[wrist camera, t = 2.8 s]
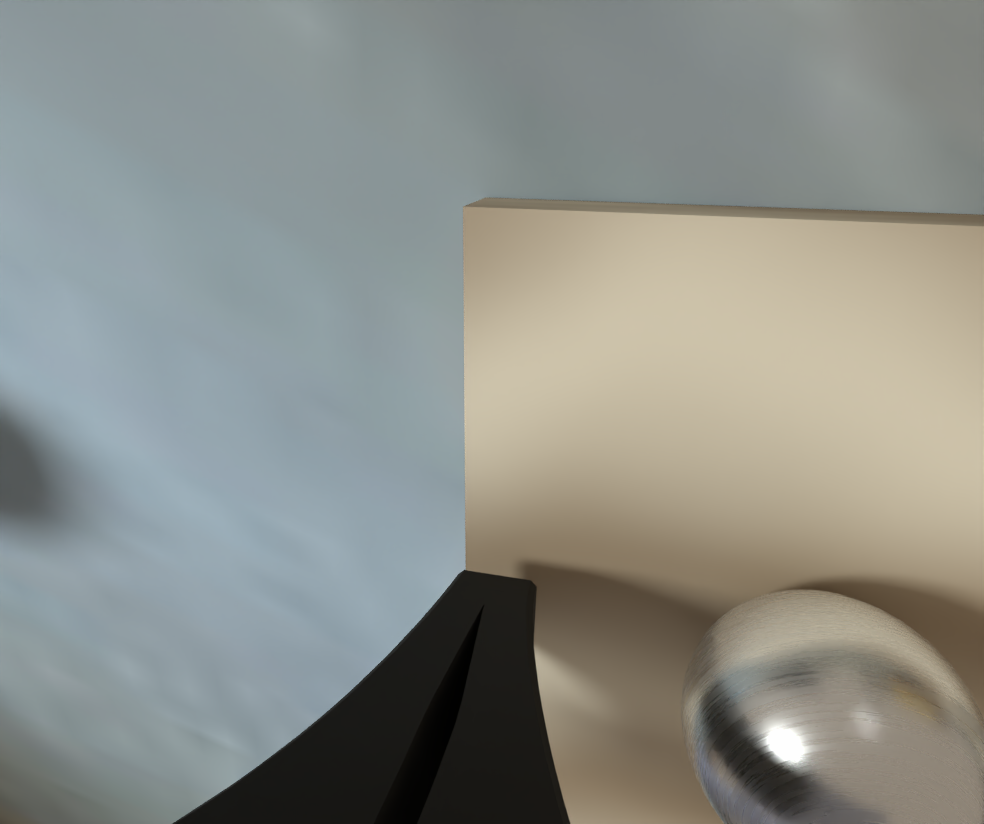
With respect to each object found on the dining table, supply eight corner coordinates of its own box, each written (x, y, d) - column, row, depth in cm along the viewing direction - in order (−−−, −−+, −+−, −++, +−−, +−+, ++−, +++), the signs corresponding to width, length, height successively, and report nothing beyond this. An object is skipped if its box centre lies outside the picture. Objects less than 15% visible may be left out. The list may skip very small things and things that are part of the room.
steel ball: (880, 729, 11) (996, 1007, 8) (660, 688, 12) (671, 923, 8) (954, 557, 9) (1148, 812, 6) (691, 523, 10) (721, 729, 7)
